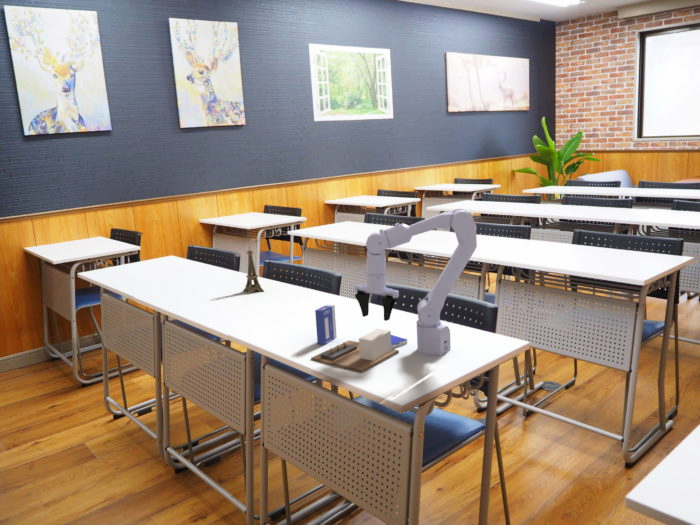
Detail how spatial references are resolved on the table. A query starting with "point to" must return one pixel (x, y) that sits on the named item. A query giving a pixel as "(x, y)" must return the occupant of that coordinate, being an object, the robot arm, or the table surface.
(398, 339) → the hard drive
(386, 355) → the board
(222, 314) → the table surface
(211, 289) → the table surface
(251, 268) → the eiffel tower
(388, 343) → the block
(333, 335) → the walkman
